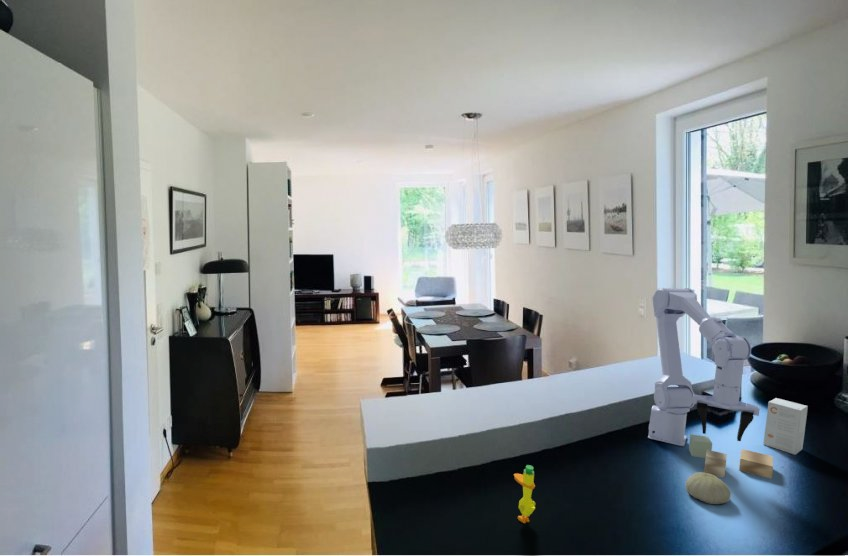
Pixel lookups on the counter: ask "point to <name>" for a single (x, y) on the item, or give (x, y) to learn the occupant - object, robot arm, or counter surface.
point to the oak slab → (756, 463)
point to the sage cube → (699, 445)
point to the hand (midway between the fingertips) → (721, 435)
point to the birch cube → (715, 463)
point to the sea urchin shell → (708, 488)
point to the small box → (785, 425)
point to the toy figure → (526, 493)
